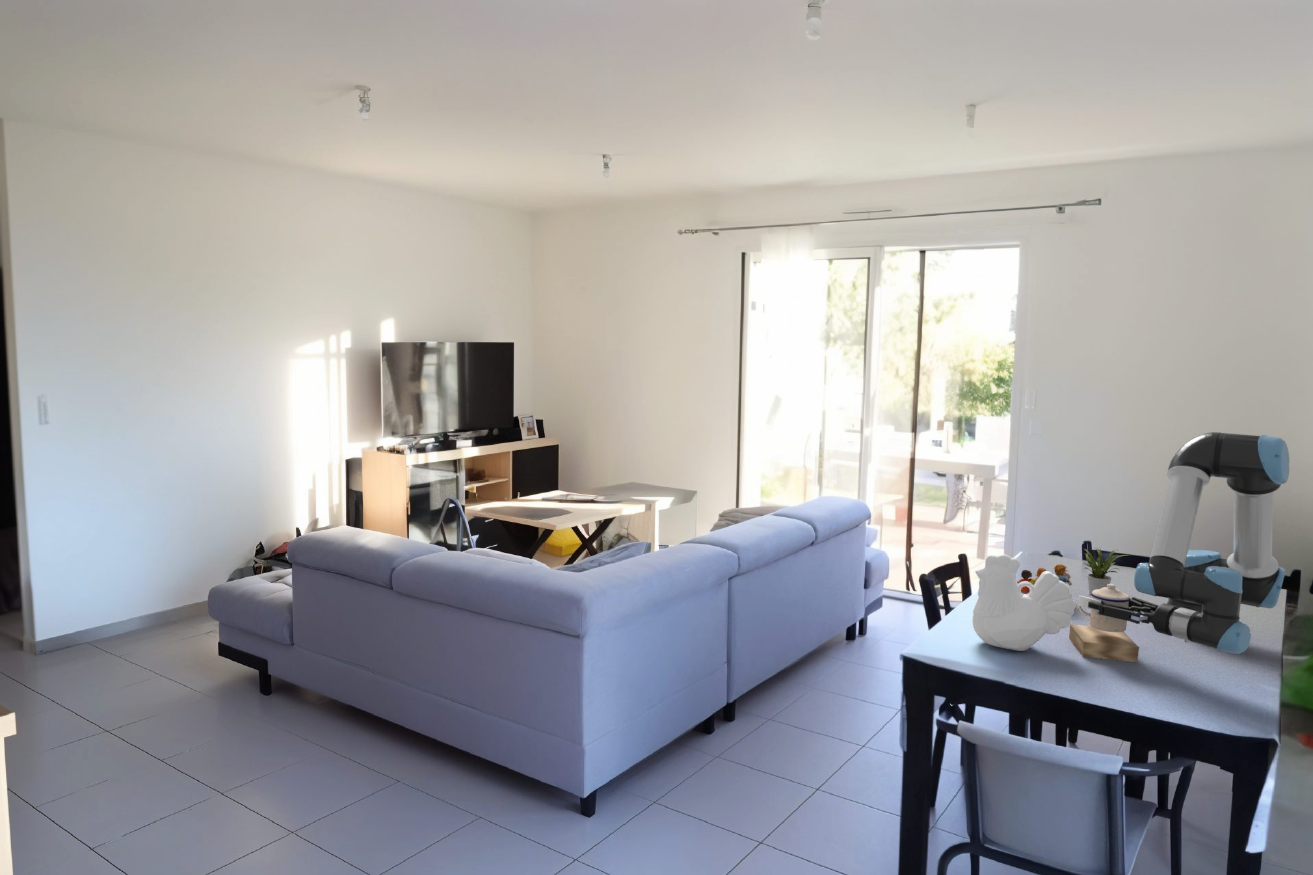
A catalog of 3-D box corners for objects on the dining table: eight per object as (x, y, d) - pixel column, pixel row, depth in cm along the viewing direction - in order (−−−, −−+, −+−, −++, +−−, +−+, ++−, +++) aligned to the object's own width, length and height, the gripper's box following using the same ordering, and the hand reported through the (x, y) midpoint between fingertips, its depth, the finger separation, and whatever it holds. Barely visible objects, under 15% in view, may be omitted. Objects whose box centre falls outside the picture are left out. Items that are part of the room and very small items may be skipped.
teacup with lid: (1126, 625, 229) (1130, 583, 228) (1127, 635, 221) (1131, 591, 220) (1076, 618, 234) (1080, 576, 233) (1076, 627, 226) (1079, 584, 225)
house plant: (1128, 594, 284) (1132, 545, 283) (1125, 603, 273) (1129, 553, 271) (1080, 586, 292) (1084, 539, 290) (1075, 595, 280) (1079, 547, 279)
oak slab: (1120, 643, 234) (1121, 628, 234) (1137, 662, 220) (1138, 647, 219) (1069, 638, 237) (1070, 624, 237) (1082, 656, 223) (1084, 641, 222)
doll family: (1064, 599, 276) (1068, 559, 275) (1088, 607, 267) (1091, 566, 266) (1011, 603, 270) (1014, 562, 268) (1033, 612, 261) (1036, 570, 259)
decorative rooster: (968, 650, 225) (974, 557, 223) (972, 632, 240) (978, 545, 237) (1073, 666, 215) (1081, 570, 213) (1071, 647, 230) (1079, 557, 227)
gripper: (1151, 642, 207) (1064, 617, 226) (1197, 630, 218) (1111, 606, 237) (1153, 612, 206) (1066, 589, 225) (1200, 601, 217) (1113, 580, 236)
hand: (1089, 598), depth 231 cm, fingers closed on teacup with lid, 9 cm apart
